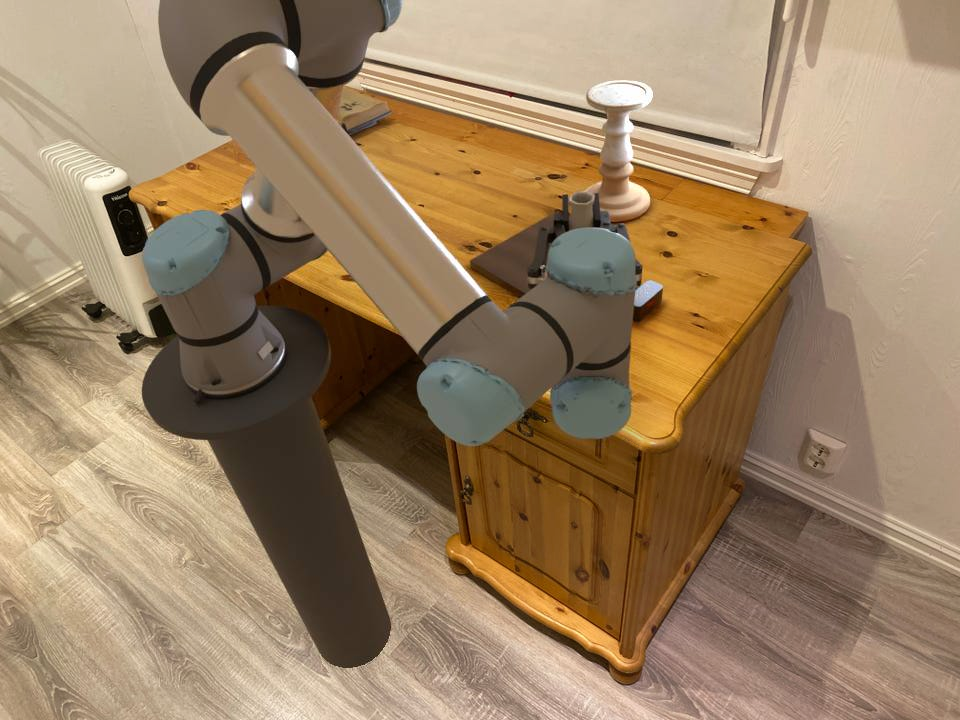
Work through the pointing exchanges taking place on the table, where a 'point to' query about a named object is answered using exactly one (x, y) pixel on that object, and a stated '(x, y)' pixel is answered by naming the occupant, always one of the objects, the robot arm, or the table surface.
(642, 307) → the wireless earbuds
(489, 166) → the table surface
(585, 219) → the flask
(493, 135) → the table surface
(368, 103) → the book
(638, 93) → the candle holder
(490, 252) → the walnut board
